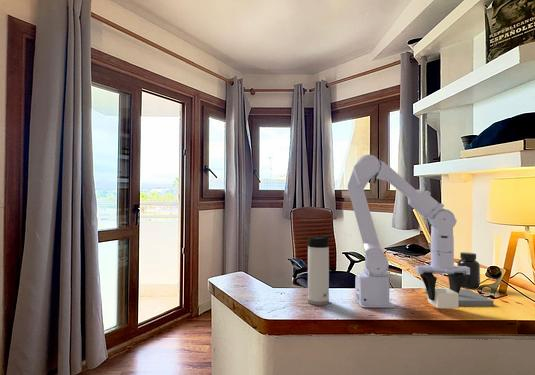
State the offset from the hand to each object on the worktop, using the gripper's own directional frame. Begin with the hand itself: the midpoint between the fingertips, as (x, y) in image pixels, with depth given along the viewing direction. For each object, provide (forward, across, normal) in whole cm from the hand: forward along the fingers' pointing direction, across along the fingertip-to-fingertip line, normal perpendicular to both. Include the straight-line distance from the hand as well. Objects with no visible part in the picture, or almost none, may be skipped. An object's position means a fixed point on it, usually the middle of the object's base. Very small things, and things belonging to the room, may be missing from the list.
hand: (442, 299), depth 89 cm
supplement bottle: (+3, +23, +25) cm, 34 cm away
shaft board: (+3, +10, +10) cm, 15 cm away
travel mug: (+3, -34, +6) cm, 35 cm away
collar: (+1, 0, 0) cm, 1 cm away
